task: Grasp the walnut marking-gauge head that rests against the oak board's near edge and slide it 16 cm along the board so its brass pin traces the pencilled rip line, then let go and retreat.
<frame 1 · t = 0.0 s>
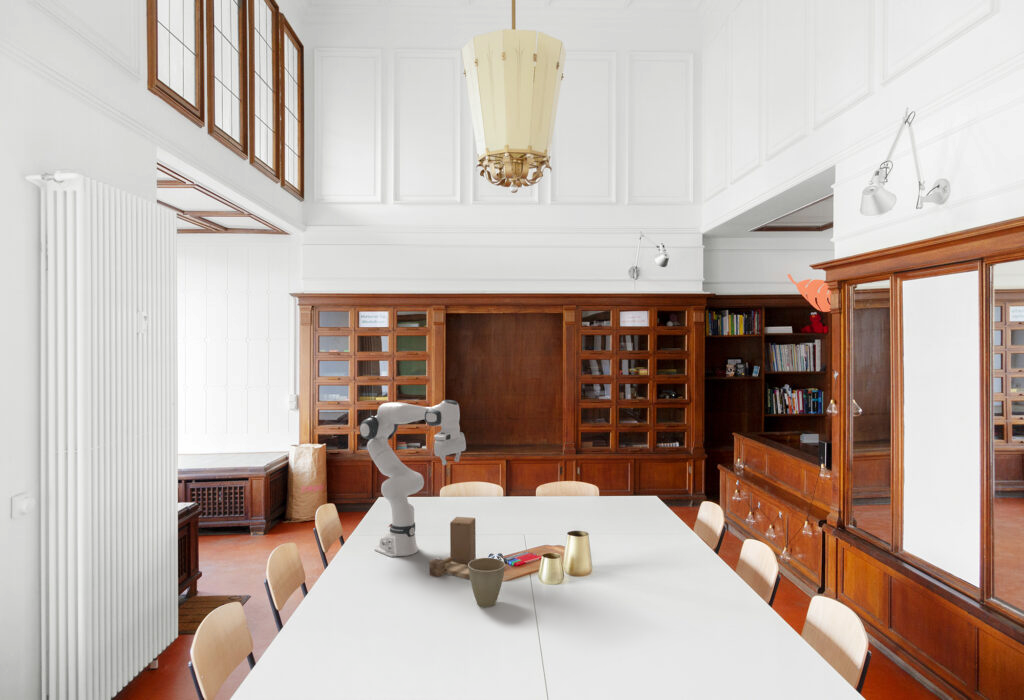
hand: (450, 463, 288), 48 cm above the table, fingers open, 8 cm apart
gauge: (437, 574, 275), on the table
board: (463, 572, 276), on the table
plant pot: (486, 603, 243), on the table
wooden block: (463, 561, 291), on the table
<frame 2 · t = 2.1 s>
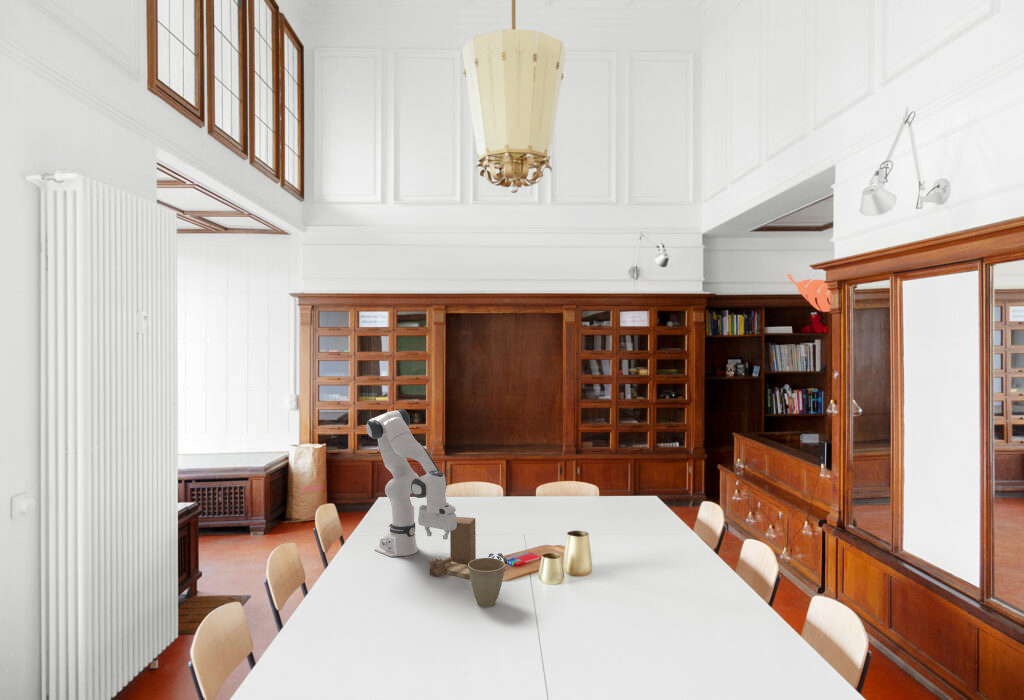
hand: (437, 537, 274), 17 cm above the table, fingers open, 8 cm apart
nothing on the table moved.
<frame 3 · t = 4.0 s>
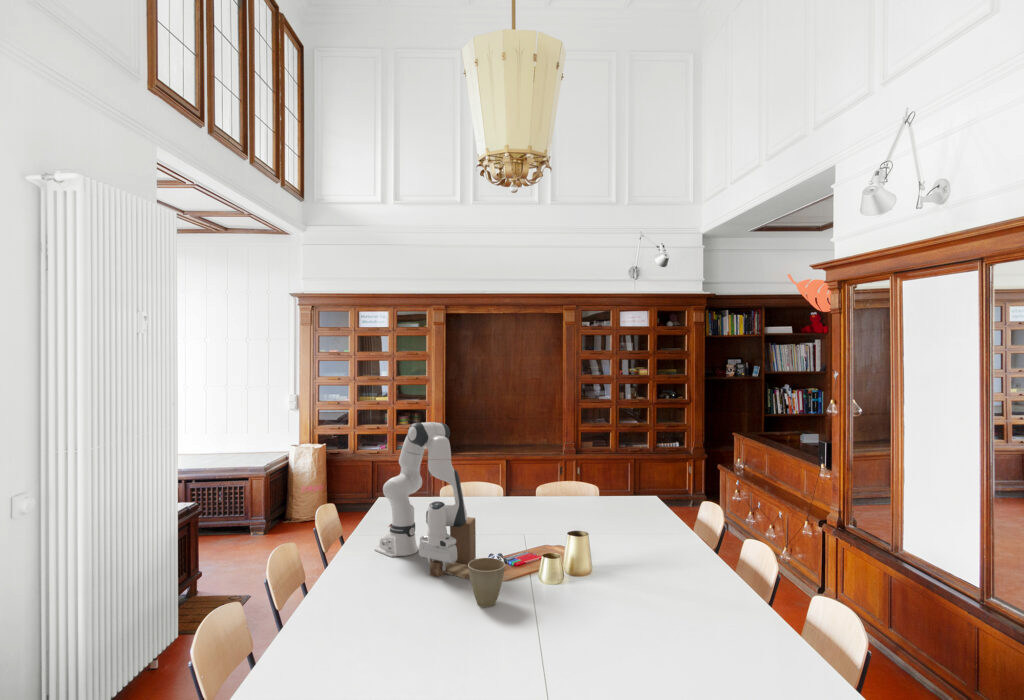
hand: (437, 569, 274), 2 cm above the table, fingers closed on gauge, 5 cm apart
gauge: (437, 574, 275), on the table, touching gripper
wooden block: (463, 561, 291), on the table, touching arm
everything else where it was.
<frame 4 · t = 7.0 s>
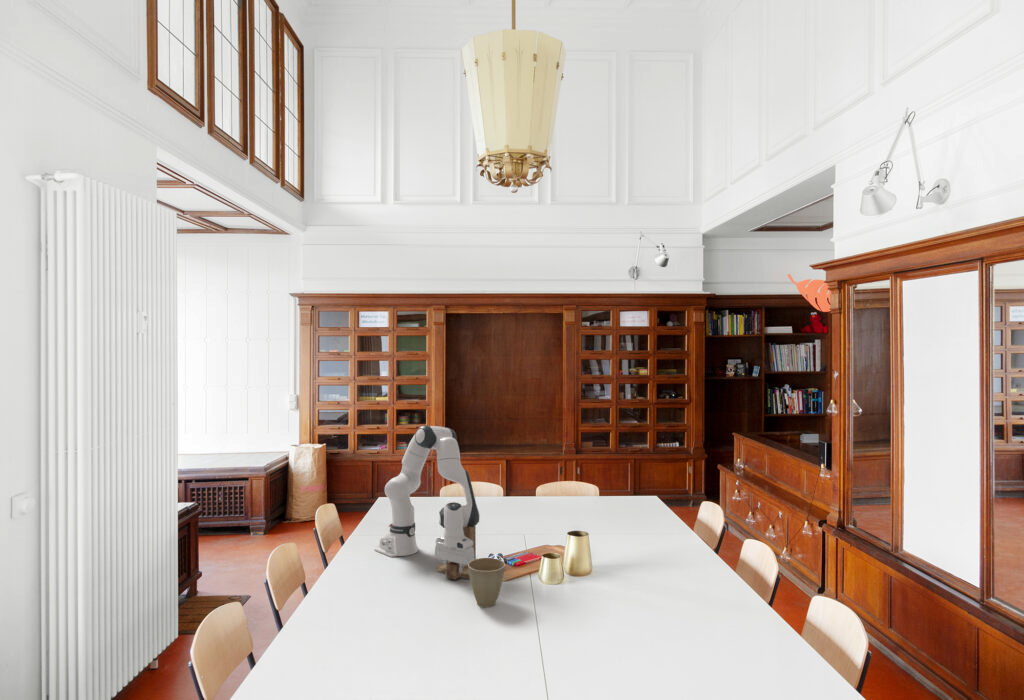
hand: (454, 571, 269), 3 cm above the table, fingers closed on gauge, 5 cm apart
gauge: (454, 576, 270), point 1 cm above the table, touching gripper
wooden block: (463, 561, 291), on the table
everything else where it was.
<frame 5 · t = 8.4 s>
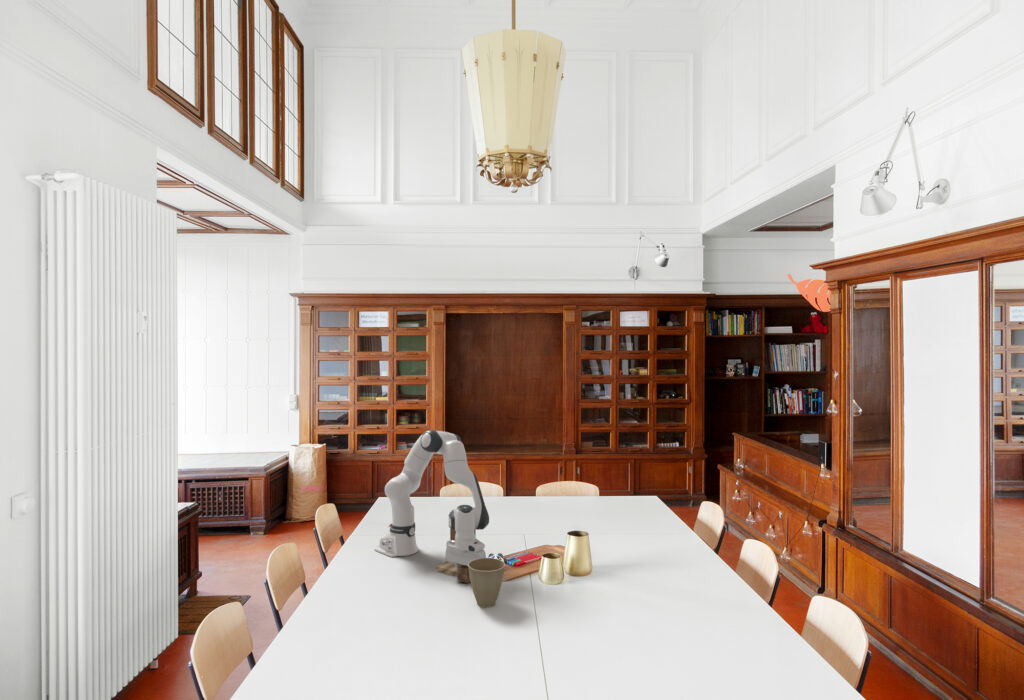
hand: (465, 574, 266), 3 cm above the table, fingers closed on gauge, 5 cm apart
gauge: (465, 579, 266), point 1 cm above the table, touching gripper
everything else where it was.
when the fingers open (3 cm above the table, at t = 9.5 s): gauge stays where it is, on the table.
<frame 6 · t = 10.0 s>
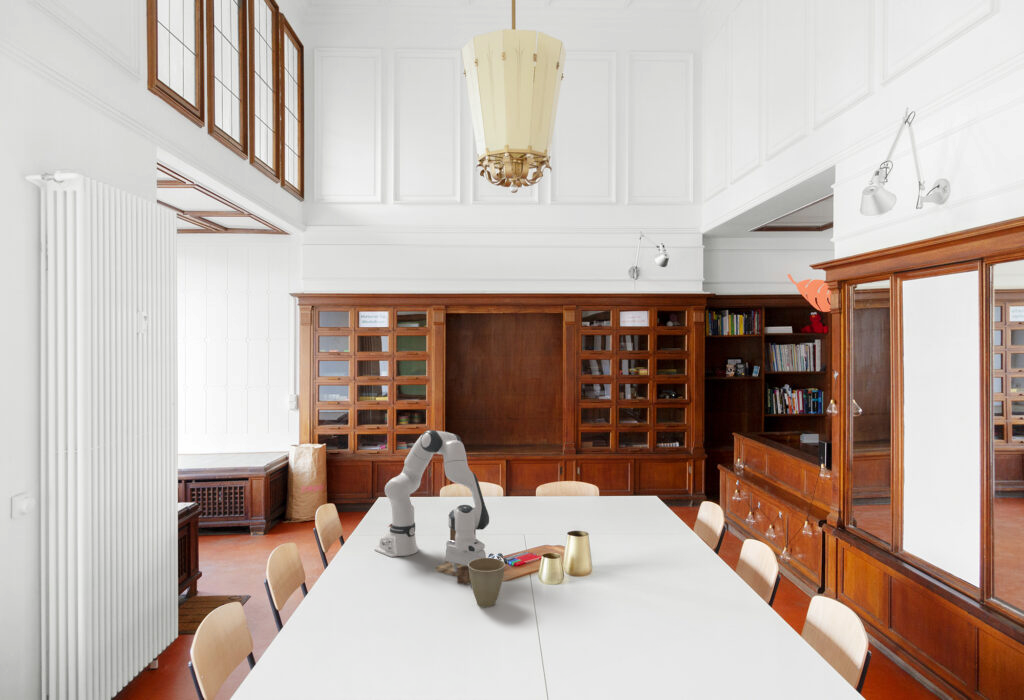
hand: (465, 574, 266), 3 cm above the table, fingers open, 8 cm apart
gauge: (465, 581, 266), on the table
everything else where it was.
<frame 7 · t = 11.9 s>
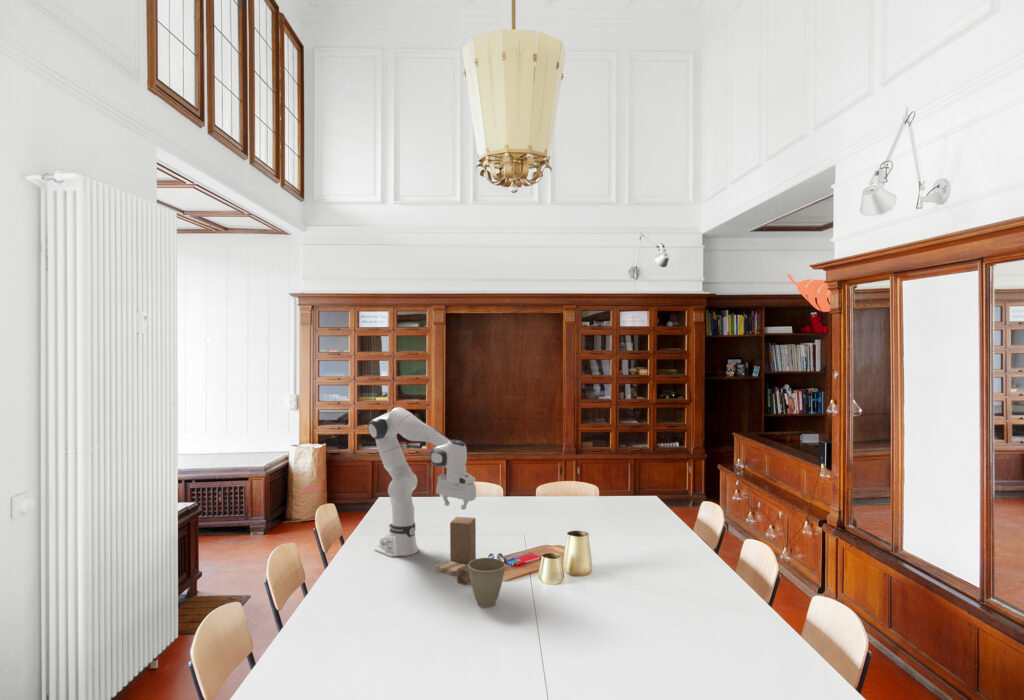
hand: (455, 507, 271), 31 cm above the table, fingers open, 8 cm apart
nothing on the table moved.
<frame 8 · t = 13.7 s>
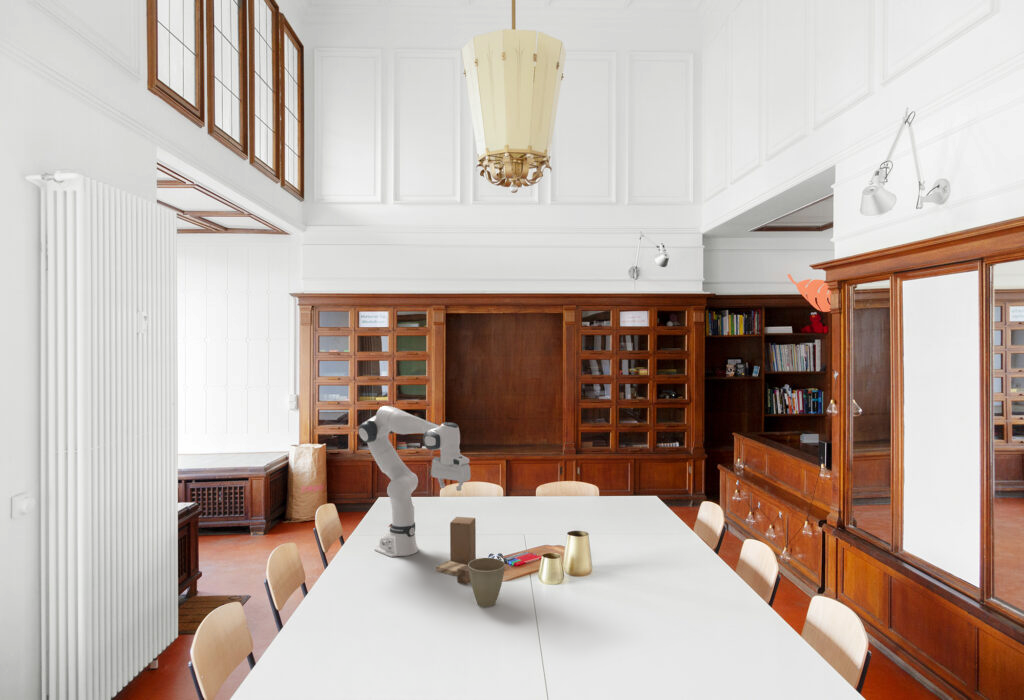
hand: (450, 489, 273), 39 cm above the table, fingers open, 8 cm apart
nothing on the table moved.
at the end: gauge inside the target area (0.6 cm from its centre), on the table; gauge tilted 0°; gauge moved 16.0 cm from its start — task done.
